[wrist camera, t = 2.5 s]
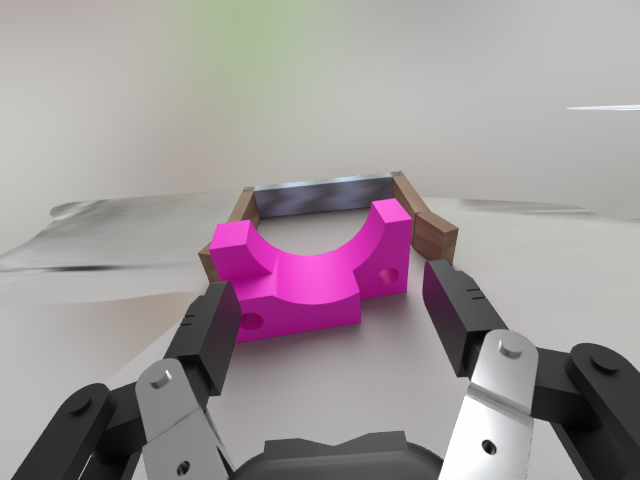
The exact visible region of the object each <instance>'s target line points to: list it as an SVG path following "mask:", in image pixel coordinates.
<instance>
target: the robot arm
mask: <svg viewBox="0 0 640 480" xmlns="http://www.w3.org/2000/svg"><path fill="white" fill-rule="evenodd" d="M422 292H423V300H424V304H425V306H426V308H427V311H428V313H429V315H430V317H431V320H432V322H433V324H434V326H435V329H436V331H437V333H438V335H439V338H440V340H441V342H442V344H443V347H444V349H445V351H446V353H447V356H448V358H449V360H450V362H451V365H452V367H453V369H454V372H455V374H456V376H457V377H468V378H469V380H470V385H469V387H468V390H467V393H466V396H465V399H464V402H463V405H462V408H461V411H460V414H459V417H458V420H457V423H456V426H455V430H454V433H453V436H452V439H451V442H450V445H449V448H448V451H447V454H446V457H445V460H443V459H442V458H440V457H439V456H438V455H436V454H435V453H433V452H431V451H430V450H428V449H426V448H424V447H422V446H419V445H416V444H414V443H410V442H406V438H405V433H404V431H393V432H379V433H368V434H366V435H363V436H361V437H358V438H355V439H353V440H350V441H347V442H345V443H342V444H339V445H336V446H330V445H326V444H321V443H317V442H313V441H308V440H304V439H299V438H296V439H283V440H269V441H265V446H264V452H263V453H261V454H259V455H257V456H255V457H253V458H251V459H250V460H248V461H247V462H245V463H244V464H243V465H242V466H240V467H239V468H238V469H237V470H236V469H235V467H234V465H233V463H232V461H231V459H230V457H229V455H228V453H227V451H226V449H225V447H224V445H223V442H222V440H221V438H220V436H219V433H218V431H217V429H216V427H215V424H214V422H213V420H212V418H211V415H210V413H209V411H208V409H207V407H206V405H207V402H208V399H209V396H220V395H221V391H222V388H223V384H224V381H225V377H226V374H227V370H228V366H229V363H230V359H231V356H232V352H233V349H234V345H235V341H236V338H237V334H238V331H239V327H240V324H241V318H242V312H241V307H240V304H239V301H238V298H237V295H236V293H235V290H234V287H233V284H232V282H231V281H220V282H212V283H210V285H209V287H208V289H207V291H206V293H205V295H203V296H199V297H198V298H197V299H196V300H195V301H194V302H193V303H192V304H191V305H190V306H189V308H188V310H187V312H186V314H185V318H183V320H182V322H181V324H180V325H181V326H180V327H179V328H178V330H177V332H176V334H175V336H174V338H173V340H172V342H171V344H170V346H169V348H168V350H167V352H166V354H165V356H164V358H163V360H160V361H158V362H156V363H154V364H152V365H151V366H149V367H148V368H147V369H146V370H145V371H144V372H143V373H142V374H141V376H140V377H139V379H138V381H136V382H134V383H131V384H128V385H125V386H123V387H120V388H117V389H115V390H112V391H110V390H109V389H108V388H107V386H105V385H104V384H100V383H95V384H91V385H88V386H85V387H83V388H81V389H80V390H78V391H77V392H75V393H74V394H72V395H71V396H70V397H69V398H68V399H67V400H66V401H65V402H64V403H63V404H62V405H61V406H60V408H59V409H58V411H57V412H56V414H55V415H54V417H53V418H52V420H51V421H50V423H49V424H48V426H47V427H46V429H45V430H44V431H43V433H42V435H41V436H40V437H39V439H38V440H37V442H36V443H35V445H34V446H33V448H32V449H31V451H30V452H29V454H28V455H27V457H26V458H25V460H24V461H23V463H22V464H21V466H20V467H19V468H18V470H17V472H16V473H15V474H14V476H13V477H12V479H11V480H78V478H79V476H80V474H81V473H82V471H83V469H84V467H85V465H86V463H87V461H88V459H89V457H90V455H92V456H91V458H90V460H89V462H88V464H87V466H86V468H85V470H84V472H83V473H82V475H81V477H80V479H79V480H131V479H132V476H133V474H134V471H135V468H136V466H137V463H138V461H139V458H140V456H141V453H143V459H144V463H145V468H146V473H147V477H148V480H526V479H527V471H528V464H529V456H530V449H531V441H532V434H533V425H534V418H536V419H540V420H545V421H549V422H550V424H551V426H552V427H553V429H554V431H555V433H556V434H557V436H558V438H559V439H560V441H561V443H562V445H563V446H564V448H565V450H566V452H567V453H568V455H569V457H570V458H571V460H572V462H573V464H574V465H575V467H576V469H577V471H578V472H579V474H580V476H581V477H582V479H583V480H640V373H639V372H638V371H637V369H636V368H635V367H634V366H633V365H632V364H631V363H630V362H629V361H628V360H627V359H625V358H624V357H623V356H621V355H620V354H618V353H617V352H615V351H613V350H611V349H609V348H606V347H604V346H601V345H597V344H592V343H581V344H577V345H575V346H574V347H573V348H572V350H571V352H570V353H565V352H559V351H554V350H548V349H543V348H538V347H535V346H534V345H533V344H532V343H531V341H529V340H528V339H527V338H525V337H524V336H522V335H520V334H519V333H516V332H514V331H510V330H509V329H508V327H507V326H506V325H505V323H504V322H503V320H502V319H501V318H500V316H499V315H498V313H497V312H496V311H495V309H494V308H493V306H492V305H491V304H490V302H489V301H488V299H486V296H485V295H484V294H483V292H482V291H481V290H480V288H479V287H478V285H477V284H476V282H475V281H474V280H473V278H471V277H470V276H468V275H467V274H465V273H464V272H462V271H454V270H453V269H452V267H451V266H450V264H449V262H448V261H447V260H435V261H426V263H425V268H424V279H423V290H422Z"/></svg>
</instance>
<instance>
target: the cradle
mask: <svg viewBox="0 0 640 480" xmlns="http://www.w3.org/2000/svg"><path fill="white" fill-rule="evenodd" d="M394 198H395V199H396V200H397V201H398V202H399V204H400V205H401V206H402V207H403V208H404V210H405V211H406V212H407V213H408V215H409V216H410V217H411V218H412V228H411V241H410V242H411V244H412V246H413V248H414V249H416V250H417V251H418V252H419V253H421V254H422V255H423V256H424V257H426V258H427V259H428V260H429V261H435V260H447V261H448V262H449V264H450V265H451V264H452V263H453V257H454V251H455V246H456V240H457V235H458V229H459V228H458V227H456V226H454V225H453V224H451V223H449V222H448V221H446V220H444V219H443V218H441V217H439V216H438V215H436V214H434V213H433V212H431V211H430V210H429V208H428V207H427V206H426V204H425V203H424V202H423V200H422V199H421V198H420V196H419V195H418V193H417V192H416V191H415V189H414V188H413V187H412V186H411V184H410V183H409V181H408V180H407V178H406V177H405V176H404V174H403V173H402V172H401V171H399V172H390V173H380V174H371V175H361V176H352V177H342V178H333V179H323V180H313V181H304V182H295V183H285V184H275V185H267V186H257V187H247V188H244V190H243V192H242V194H241V196H240V198H239V200H238V201H237V203H236V205H235V207H234V209H233V211H232V213H231V215H230V217H229V219H228V221H227V223H230V222H237V221H244V220H251V223H252V225H253V226H254V228H255V230H256V229H257V226H258V223H259V220H260V218H265V217H275V216H285V215H295V214H305V213H315V212H325V211H335V210H344V209H354V208H364V207H371V204H372V202H374V201H380V200H387V199H394ZM210 244H211V242H210V243H209V244H208V245H207V246H206V247H204V248H203V249H202V250H201V251H200V252H199V253H198V254H199V257H200V259H201V262H202V264H203V267H204V269H205V272H206V274H207V277H208V279H209V282H210V283H212V282H220V279H219V276H218V273H217V271H216V268H215V266H214V263H213V260H212V258H211V255H210V252H209V247H210Z"/></svg>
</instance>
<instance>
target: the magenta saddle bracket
mask: <svg viewBox="0 0 640 480" xmlns="http://www.w3.org/2000/svg"><path fill="white" fill-rule="evenodd" d="M411 228H412V218H411V217H410V216H409V215H408V213H407V212H406V211H405V210H404V208H403V207H402V206H401V205H400V204H399V202H398V201H397V200H396V199H395V198H394V199H387V200H380V201H374V202H372V204H371V209H370V213H369V215H368V218H367V220H366V222H365V224H364V225H363V227H362V228H361V230H360V231H359V232H358V233H357V235H356V236H355V237H354V238H353V239H351V240H350V241H349V242H348V243H346V244H345V245H343V246H342V247H340V248H338V249H336V250H334V251H331V252H328V253H325V254H321V255H314V256H300V255H294V254H289V253H286V252H283V251H281V250H279V249H277V248H275V247H273V246H272V245H270V244H269V243H267V242H266V241H265V240H264V239H263V238H262V237H261V236H260V235H259V234H258V232H257V231H256V230H255V228H254V226H253V225H252V223H251V220H244V221H237V222H230V223H223V224H218V225H217V228H216V230H215V233H214V236H213V239H212V241H211V244H210V247H209V252H210V255H211V258H212V260H213V263H214V266H215V268H216V271H217V273H218V276H219V279H220V281H231V282H232V284H233V287H234V290H235V293H236V295H237V298H238V301H239V304H240V307H241V312H242V318H241V324H240V327H239V331H238V334H237V338H236V341H235V343H241V342H247V341H253V340H259V339H265V338H271V337H277V336H283V335H289V334H295V333H301V332H307V331H313V330H319V329H325V328H331V327H337V326H343V325H349V324H355V323H361V312H360V299H367V298H373V297H379V296H385V295H391V294H397V293H403V292H407V279H408V266H409V253H410V241H411Z"/></svg>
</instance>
